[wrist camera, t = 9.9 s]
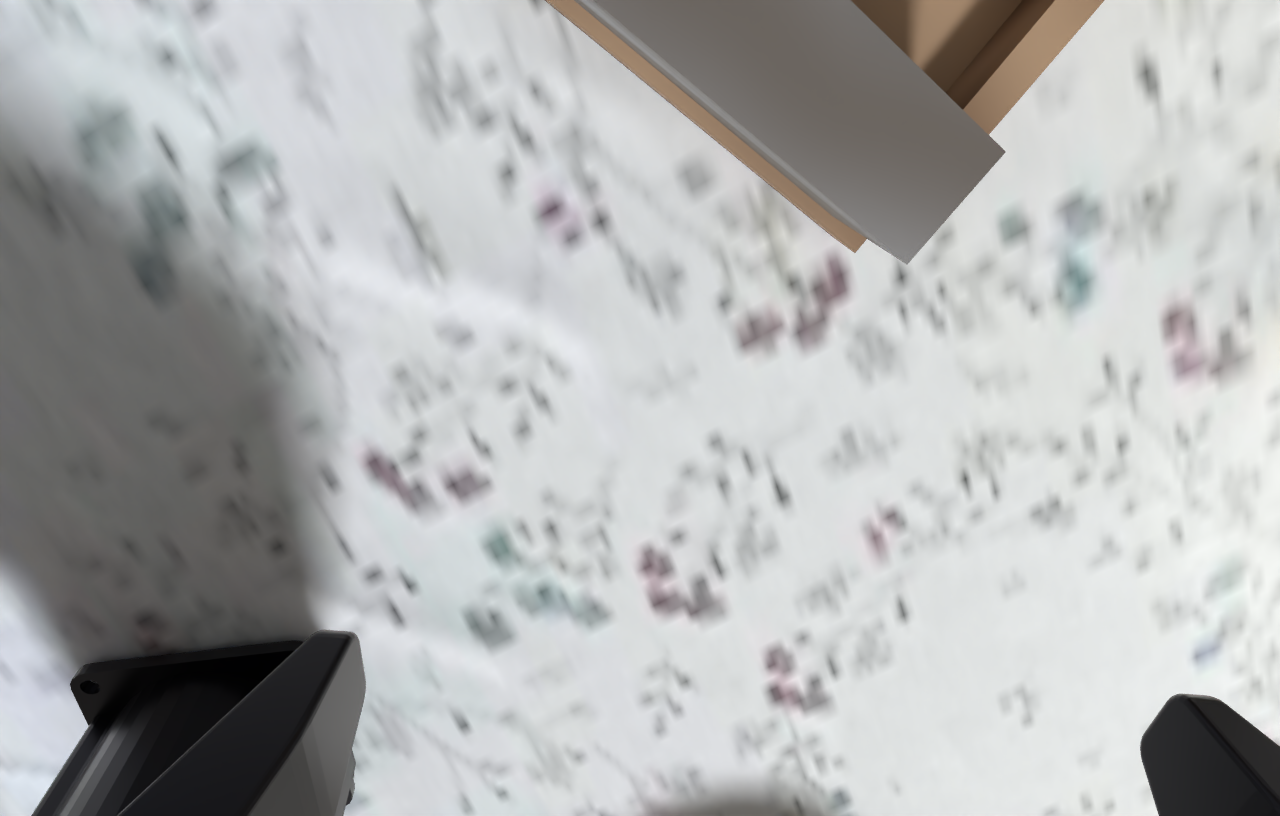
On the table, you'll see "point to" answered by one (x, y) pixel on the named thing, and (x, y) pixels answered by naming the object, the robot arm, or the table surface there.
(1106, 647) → the table surface
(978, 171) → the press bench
